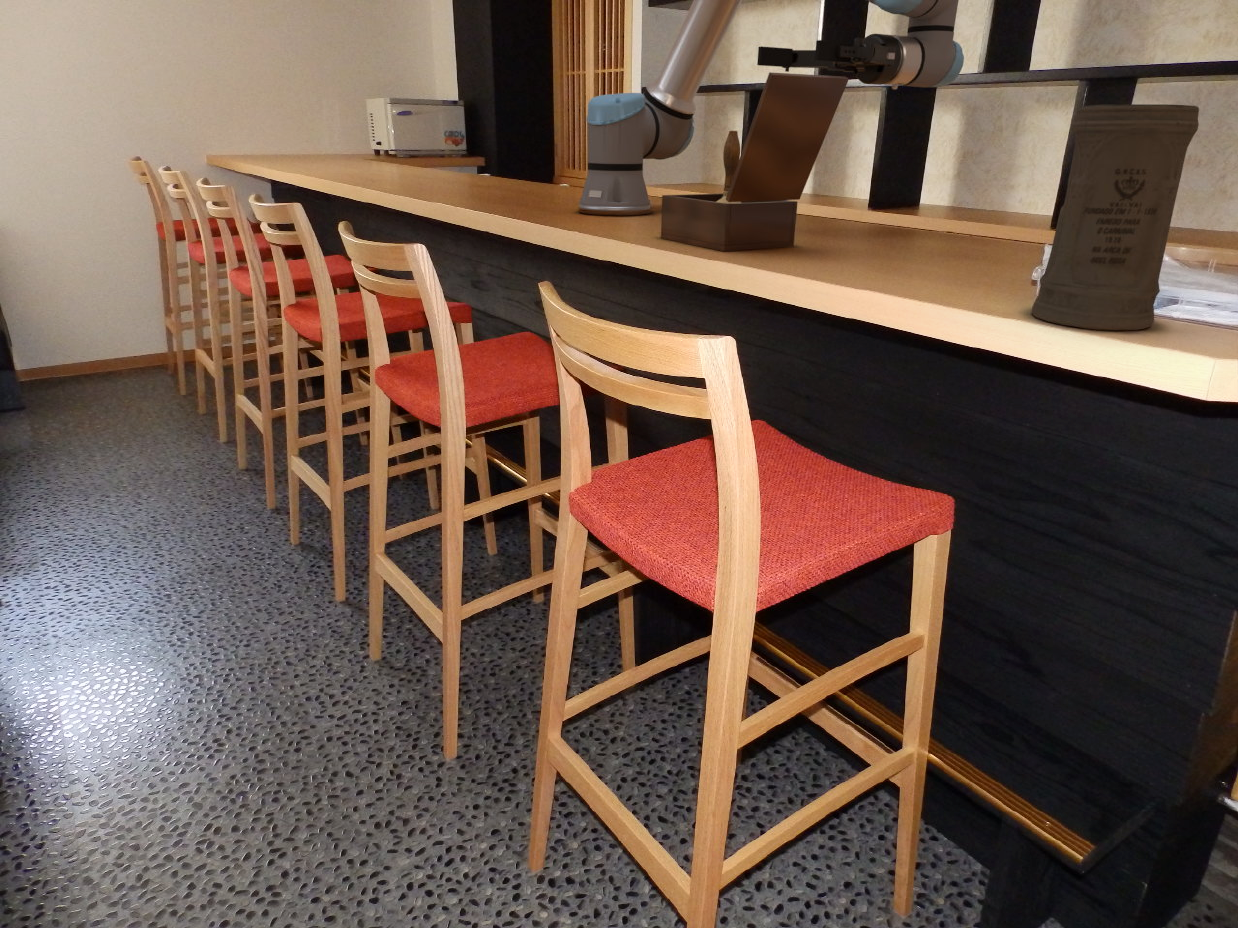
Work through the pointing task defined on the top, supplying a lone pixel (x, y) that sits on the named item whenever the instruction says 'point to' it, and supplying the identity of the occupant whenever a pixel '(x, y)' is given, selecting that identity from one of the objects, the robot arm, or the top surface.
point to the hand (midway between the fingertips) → (786, 53)
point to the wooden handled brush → (730, 162)
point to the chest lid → (785, 136)
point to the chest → (728, 222)
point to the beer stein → (1116, 216)
